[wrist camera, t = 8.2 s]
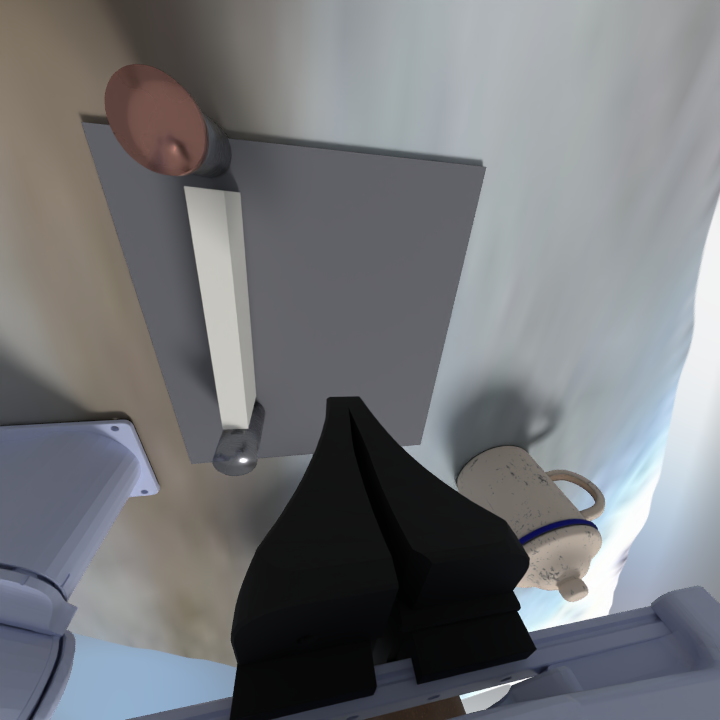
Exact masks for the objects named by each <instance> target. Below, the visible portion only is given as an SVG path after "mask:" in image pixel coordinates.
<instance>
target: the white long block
mask: <svg viewBox="0 0 720 720" xmlns="http://www.w3.org/2000/svg"><path fill="white" fill-rule="evenodd" d="M184 190H185V196H186V203H187V209H188V215H189V221H190V228H191V234H192V240H193V247H194V253H195V259H196V265H197V272H198V278H199V284H200V290H201V297H202V303H203V309H204V315H205V322H206V328H207V334H208V341H209V347H210V353H211V359H212V366H213V372H214V378H215V384H216V391H217V397H218V403H219V409H220V416H221V422H222V428H223V429H248V427H249V423H250V419H251V415H252V411H253V407H254V403H255V398H256V387H255V374H254V361H253V349H252V336H251V323H250V310H249V297H248V285H247V272H246V259H245V246H244V234H243V221H242V208H241V195H240V192H232V191H224V190H216V189H208V188H198V187H188V186H184Z"/></svg>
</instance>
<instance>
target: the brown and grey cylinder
mask: <svg viewBox="0 0 720 720" xmlns="http://www.w3.org/2000/svg"><path fill="white" fill-rule="evenodd" d="M105 110H106V115H107V119H108V122H109V125H110V127H111V129H112V132H113V134H114V135H115V137H116V139H117V141H118V142H119V143H120V145H121V146H122V147H123V149H124V150H125V151H126V152H127V153H128V154H129V155H130V156H131V157H132V158H133V159H134V160H135V161H136V162H138V163H139V164H141V165H142V166H143V167H145V168H147V169H149V170H151V171H153V172H156V173H159V174H163V175H169V176H186V175H189V174H194V175H198V176H203V177H208V178H216V177H219V176H221V175H223V174H224V173H225V172H226V171H227V170H228V169H229V166H230V164H231V159H232V151H231V146H230V143H229V140H228V137H227V135H226V134H225V132H224V131H223V130H222V129H221V128H220V127H219V126H218V125H217V124H216V123H214V122H213V121H212V120H211V119H210V118H209V117H207V116H206V115H205V114H204V113H203V112H201V110H200V108H199V106H198V105H197V103H196V102H195V100H194V99H193V98H192V96H191V95H190V94H189V93H188V92H187V91H186V90H185V89H184V88H183V87H182V86H181V85H180V84H179V83H178V82H176V81H175V80H174V79H173V78H172V77H170V76H169V75H167V74H166V73H164V72H163V71H161V70H159V69H157V68H154V67H151V66H148V65H142V64H133V65H128V66H125V67H123V68H121V69H119V70H118V71H117V72H115V73H114V74H113V76H112V77H111V78H110V80H109V82H108V85H107V88H106V92H105Z"/></svg>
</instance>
